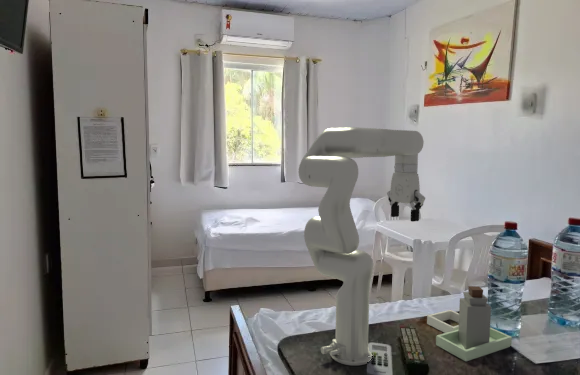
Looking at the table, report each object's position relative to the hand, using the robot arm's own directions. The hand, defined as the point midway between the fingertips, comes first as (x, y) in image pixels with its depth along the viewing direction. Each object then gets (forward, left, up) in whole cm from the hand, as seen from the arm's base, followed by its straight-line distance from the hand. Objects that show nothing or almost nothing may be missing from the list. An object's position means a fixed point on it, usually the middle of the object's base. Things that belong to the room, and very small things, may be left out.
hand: (404, 218), depth 141 cm
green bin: (+7, -24, -36) cm, 44 cm away
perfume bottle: (+7, -24, -36) cm, 44 cm away
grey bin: (+12, -12, -36) cm, 40 cm away
